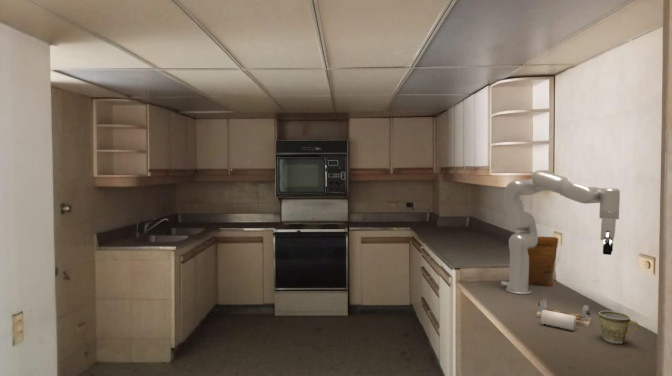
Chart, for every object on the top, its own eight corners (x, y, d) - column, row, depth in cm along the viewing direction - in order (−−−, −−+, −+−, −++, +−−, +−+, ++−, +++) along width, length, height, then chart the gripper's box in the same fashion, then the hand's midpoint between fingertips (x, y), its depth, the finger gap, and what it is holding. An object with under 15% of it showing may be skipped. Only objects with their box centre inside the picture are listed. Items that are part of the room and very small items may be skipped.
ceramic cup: (593, 339, 165) (594, 313, 164) (604, 333, 171) (605, 308, 170) (632, 350, 154) (633, 323, 154) (642, 344, 160) (643, 318, 160)
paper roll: (540, 325, 179) (541, 311, 179) (543, 321, 184) (544, 308, 183) (573, 332, 172) (573, 317, 171) (575, 328, 176) (576, 314, 176)
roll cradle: (536, 316, 190) (536, 301, 189) (540, 311, 197) (541, 296, 196) (588, 327, 177) (588, 310, 177) (591, 321, 185) (591, 305, 184)
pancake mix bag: (557, 288, 238) (559, 238, 237) (520, 284, 244) (522, 235, 243) (555, 284, 244) (557, 236, 243) (519, 281, 250) (520, 234, 249)
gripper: (600, 213, 203) (599, 249, 204) (597, 216, 189) (596, 254, 190) (619, 214, 199) (618, 251, 200) (618, 217, 185) (616, 256, 186)
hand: (607, 252), depth 195 cm, fingers open, 9 cm apart
